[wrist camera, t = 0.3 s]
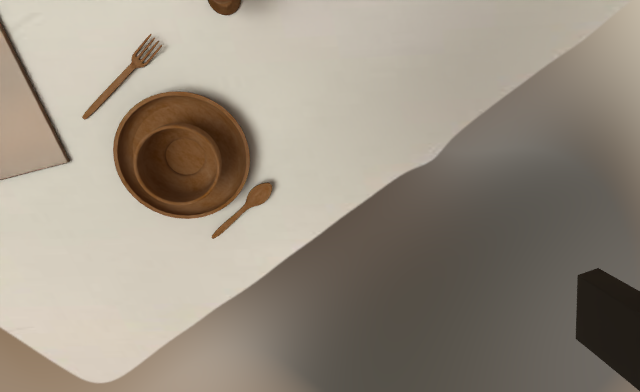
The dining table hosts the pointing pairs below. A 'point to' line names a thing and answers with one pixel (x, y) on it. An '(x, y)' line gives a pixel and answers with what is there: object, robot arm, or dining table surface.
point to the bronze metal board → (23, 121)
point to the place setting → (182, 149)
